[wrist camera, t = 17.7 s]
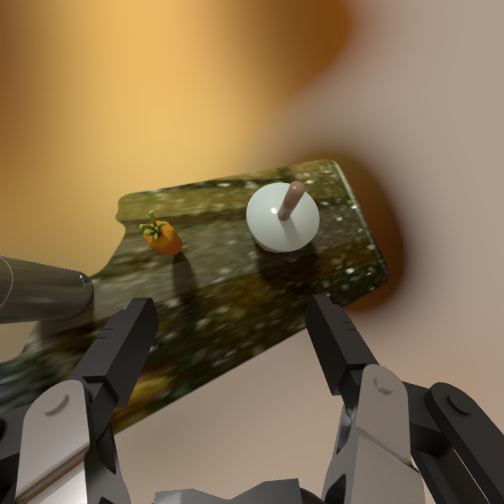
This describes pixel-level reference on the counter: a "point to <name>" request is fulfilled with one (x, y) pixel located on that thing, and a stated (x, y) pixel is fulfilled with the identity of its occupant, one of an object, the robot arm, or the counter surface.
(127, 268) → the counter surface
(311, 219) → the celadon lid
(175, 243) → the carrot
